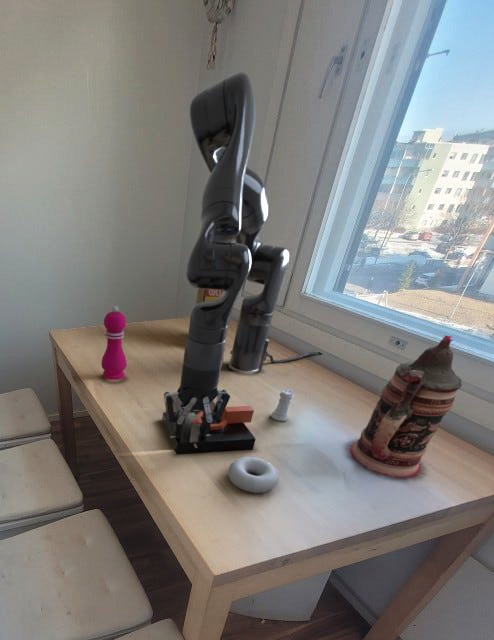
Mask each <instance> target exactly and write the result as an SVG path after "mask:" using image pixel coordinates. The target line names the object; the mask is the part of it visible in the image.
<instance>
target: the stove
mask: <svg viewBox="0 0 494 640" xmlns="http://www.w3.org/2000/svg"><path fill="white" fill-rule="evenodd" d="M211 411H213V410H211ZM176 412H177V411H174V414H176ZM200 412H202V411H190V412H189V413H194V414H195V415H197V414H198V413H200ZM161 421H162V423H163V425H164V427H165V430H166V431H167V434H168V436H169V438H170V440H171V442H172V445H173V447H174V448H173V451H174V453H175V455H177V456H179V455H180V456H181V455H194V454H195V455H196V454H209V453H210V454H211V453H212V454H213V453H227V452H241V451H253V450H254V447H255V443H256V438H257V437H255V436H254V434H253V433H252V432H251V430H250V429H249V428H248V427H247V425H246V423H230V426H229V428H228V429H227V430H225V431H223V432H217V433H212V432H209V434H208V435H206V437H202V436H201V434H200V430H199V435H198V441H197V442H189V441H188V439H187V437H186V435H185V433H184V424H185V419H184V420H183V422H182V424H183V428H182V435H181V439H177V437H176V436H175V434H174V432H173V430H174V422H170V421H169V419H168V417H167V415H166V411H163V412H162V416H161Z"/></svg>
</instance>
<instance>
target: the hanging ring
mask: <svg viewBox="0 0 494 640" xmlns="http://www.w3.org/2000/svg"><path fill="white" fill-rule="evenodd" d="M211 412H212V411H211ZM254 413H255V410H254V408H253V407H252V406H251V405H240V406H239V405H238V406H226V408H225V410H224V412H223V414H222V417H221V419H220V421H221V422H220V423H219V424H211V426H210V430H220V429H222V428H224V427H225V426H226V425H227V424H230V423H244V424H246V423H252V419H253V416H254ZM196 417H197V419H198V420H199V422H200V427H201V424H202V420H201V418H202V417H204V415H203V411H202V412H200V413H198V414H197V415H196Z"/></svg>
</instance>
